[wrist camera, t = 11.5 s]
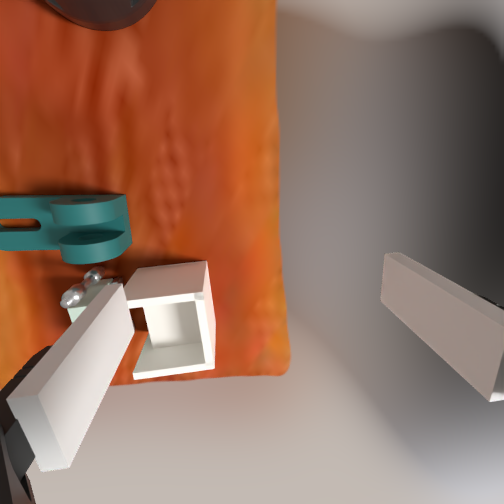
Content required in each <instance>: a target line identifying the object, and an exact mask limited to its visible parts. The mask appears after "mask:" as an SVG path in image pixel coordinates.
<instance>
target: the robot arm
mask: <svg viewBox="0 0 504 504" xmlns="http://www.w3.org/2000/svg"><path fill="white" fill-rule="evenodd" d="M44 1H45V2H46V3H48V4H49V5H50V6H51V7H52V8H53V9H54V10H56V11H57V12H58V13H59V14H61V15H62V16H64V17H65V18H67V19H68V20H70V21H72V22H74V23H76V24H78V25H81V26H83V27H86V28H90V29H94V30H101V31H112V30H118V29H122V28H126V27H128V26H130V25H132V24H134V23H136V22H137V21H139V20H140V19H142V18H143V17H144V16H145V15H146V14H147V13H148V12H149V11H150V9H151V8H152V7H153V5H154V4H155V2H156V0H44ZM381 302H382V303H383V304H384V305H385V306H386V307H387V308H389V309H390V310H391V311H392V312H393V313H394V314H395V315H396V316H397V317H398V318H400V320H402V321H403V322H404V323H405V324H406V325H407V326H408V327H409V328H410V329H411V330H412V331H414V332H415V333H416V334H417V335H418V336H419V337H420V338H421V339H422V340H423V341H424V342H425V343H427V344H428V345H429V346H430V347H431V348H432V349H433V350H434V351H435V352H436V353H437V354H438V355H439V356H441V357H442V358H443V359H444V360H445V361H446V362H447V363H448V364H449V365H450V366H451V367H452V368H453V369H455V370H456V371H457V372H458V373H459V374H460V375H461V376H462V377H463V378H464V379H465V380H466V381H468V382H469V383H470V384H471V385H472V386H473V387H474V388H475V389H476V390H477V391H478V392H479V393H480V394H482V395H483V396H484V397H485V398H486V399H487V400H488V401H489V402H492V401H498V400H504V307H502V306H499V305H498V304H497V303H495V302H493V301H491V300H490V299H488V298H486V297H483V296H480V295H477V294H474V293H472V292H470V291H468V290H466V289H464V288H463V287H461V286H459V285H457V284H455V283H454V282H452V281H450V280H448V279H446V278H445V277H443V276H441V275H439V274H437V273H435V272H434V271H432V270H430V269H428V268H426V267H425V266H423V265H421V264H419V263H418V262H416V261H414V260H412V259H410V258H409V257H407V256H405V255H403V254H401V253H399V252H396V253H387V254H385V257H384V267H383V280H382V290H381ZM134 332H135V331H134V327H133V323H132V319H131V315H130V312H129V308H128V304H127V300H126V296H125V292H124V288H123V284H122V283H120V284H111V285H105V287H104V288H103V289H102V290H101V291H100V292H99V293H98V295H97V296H96V297H95V298H94V299H93V300H92V301H91V303H90V304H89V305H88V306H87V307H86V308H85V309H84V311H83V312H82V313H81V314H80V315H79V316H78V317H77V319H76V320H75V321H74V322H73V323H72V324H71V325H70V327H69V328H68V329H67V330H66V331H65V332H64V333H63V335H62V336H61V337H60V338H59V339H58V340H57V342H56V343H55V344H54V345H52V346H47V347H45V348H44V349H42V350H41V351H39V352H38V353H37V354H35V355H34V356H32V357H31V358H30V360H29V361H28V362H27V363H26V364H25V365H24V366H23V367H22V369H21V370H19V371H18V372H17V374H16V375H15V376H14V378H13V379H11V380H10V381H9V382H8V383H7V384H6V385H5V387H4V388H3V389H2V390H1V391H0V504H36V503H35V499H34V495H33V491H32V488H31V484H30V480H29V478H28V476H27V474H26V471H27V469H28V468H29V466H30V465H31V463H32V462H33V460H34V458H35V460H36V462H37V464H38V466H39V468H40V470H41V472H45V471H52V470H58V469H64V468H69V467H70V465H71V463H72V461H73V459H74V457H75V454H76V452H77V450H78V448H79V446H80V444H81V442H82V440H83V438H84V436H85V434H86V432H87V430H88V428H89V426H90V423H91V421H92V419H93V417H94V415H95V413H96V411H97V409H98V407H99V405H100V403H101V401H102V398H103V397H104V394H105V392H106V390H107V388H108V386H109V384H110V382H111V380H112V378H113V376H114V374H115V372H116V370H117V367H118V365H119V363H120V361H121V359H122V357H123V355H124V353H125V351H126V349H127V347H128V345H129V343H130V341H131V338H132V336H133V334H134Z"/></svg>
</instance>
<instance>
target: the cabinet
mask: <svg viewBox="0 0 504 504" xmlns="http://www.w3.org/2000/svg"><path fill="white" fill-rule="evenodd" d="M124 292H125V296H126V300H127V304H128V308H129V309H130V308H138V307H143V309H144V313H145V317H146V322H147V326H148V330H149V334H148V336H147V339H146V341H145V344H144V346H143V349H142V351H141V354H140V356H139V359H138V361H137V364H136V366H135V369H134V371H133V377H134V380H137V379H144V378H151V377H158V376H165V375H173V374H180V373H187V372H194V371H202V370H209V369H215V335H216V322H215V315H214V308H213V301H212V294H211V287H210V280H209V273H208V266H207V261H199V262H190V263H181V264H172V265H163V266H154V267H145V268H137V270H136V271H135V273H134V274H133V275H132V277H131V278H130V279H129V281H128V282H127V284H126V285H125V286H124Z"/></svg>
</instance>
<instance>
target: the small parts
mask: <svg viewBox="0 0 504 504" xmlns="http://www.w3.org/2000/svg"><path fill="white" fill-rule="evenodd" d="M104 275H105V268H104V267H103V266H95V267H93V268H92V269H91V270H90V271H89V272H87V273H86V274H85V276H84V280H83V281H82V282H81V283H80V284H74V285H73V286H72V287H71V288H69V289H68V290H67V291H66V292H65V293H64V294H63V295H62V297H61V299H62V301H61V302H60V305H61V306H62V307H63V308H68V307H69V306H75V305H76V304H77V303H78V302H79V301H80V300H81V299H82V298H83V297H84V296H85V295H86V294H87V288H88V287H89V286H90V285H94V284H96V283H97V282H98V281H99V280H100V279H101V278H102V277H103V276H104ZM120 283H122V284H123V287H124V283H123V279H122V277H116V278H115V279H114V280H113V282H112V283H111V284H120ZM132 323H133V327H134V331H135V325H134V321H132Z"/></svg>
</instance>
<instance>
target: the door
mask: <svg viewBox="0 0 504 504" xmlns="http://www.w3.org/2000/svg"><path fill="white" fill-rule="evenodd" d="M112 282H113V278H111V279H102V280H99V281H98V282H97V283H96V284H94V285H90V286H89V287H88V288H87V294H86V295H85V296H84V297H83V298H82V299H81V300H80V301H79V302H78V303H77V304H76V305H75V306H69V307H68V309H67V310H68V312H69V315H70V318H71V321H72V323H73V322H74V321H75V320H76V319H77V317H78V316H79V315H80V314H81V313H82V312H83V311H84V309H85V308H86V307H87V306H88V305H89V304H90V303H91V301H92V300H93V299H94V298H95V297H96V296H97V295H98V293H99V292H100V291H101V290H102V289H103V288H104V287H105V285H111V283H112Z"/></svg>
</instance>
